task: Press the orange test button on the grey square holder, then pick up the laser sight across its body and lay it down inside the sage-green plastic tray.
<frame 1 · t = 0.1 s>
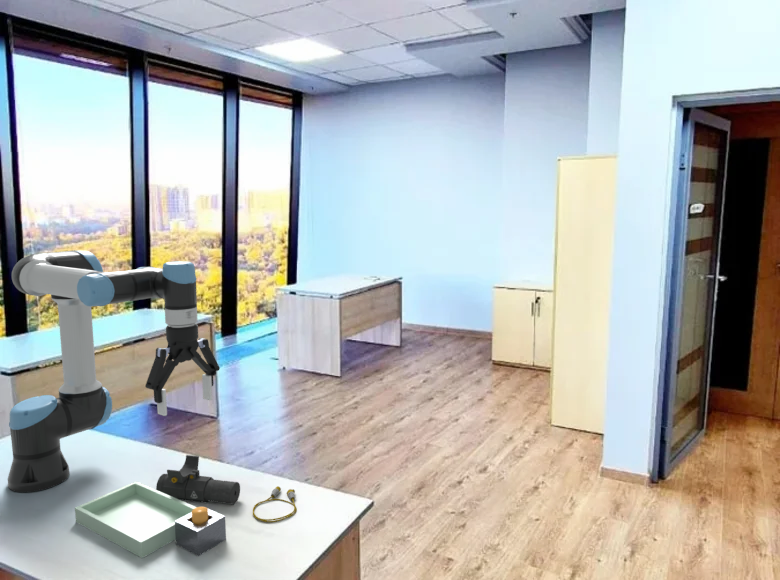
hand: (185, 406, 150), 28 cm above the table, tool pointing down, fingers open, 13 cm apart
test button: (200, 520, 139), point 6 cm above the table, slide at 0.0 cm
grey square holder: (201, 542, 139), on the table
laser sight: (197, 500, 160), on the table
tray: (139, 523, 147), on the table
extension cord: (277, 509, 156), on the table
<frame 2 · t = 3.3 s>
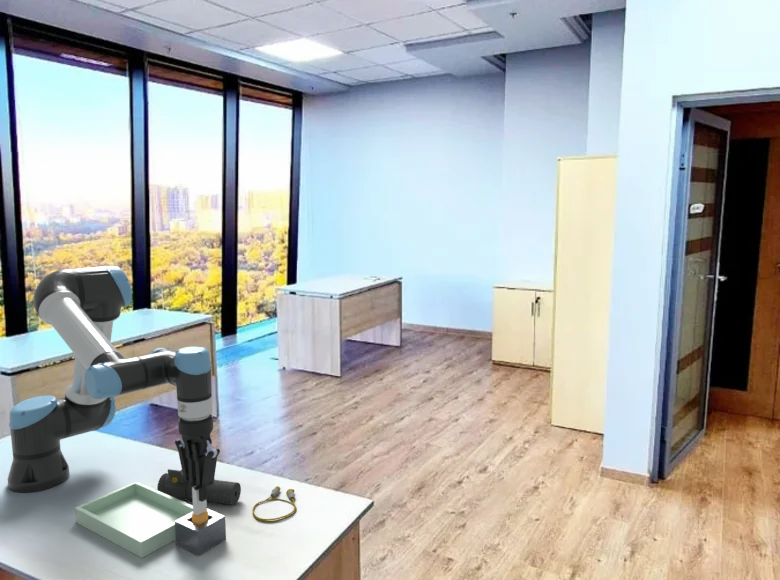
hand: (200, 512, 138), 8 cm above the table, tool pointing down, fingers closed
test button: (200, 522, 139), point 5 cm above the table, slide at 0.6 cm, touching gripper
everything else where it was.
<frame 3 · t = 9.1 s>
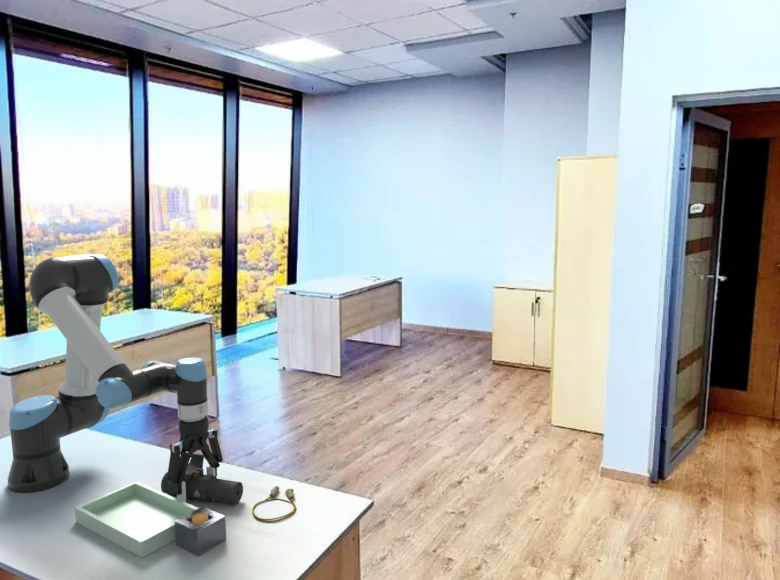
hand: (197, 496, 159), 1 cm above the table, tool pointing down, fingers closed on laser sight, 9 cm apart
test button: (200, 526, 139), point 4 cm above the table, slide at 1.5 cm
laser sight: (200, 498, 160), on the table, touching gripper
everything else where it was.
when the fingers open (3 cm above the table, at t = 15.2 s): laser sight drops 2 cm, resting on tray.
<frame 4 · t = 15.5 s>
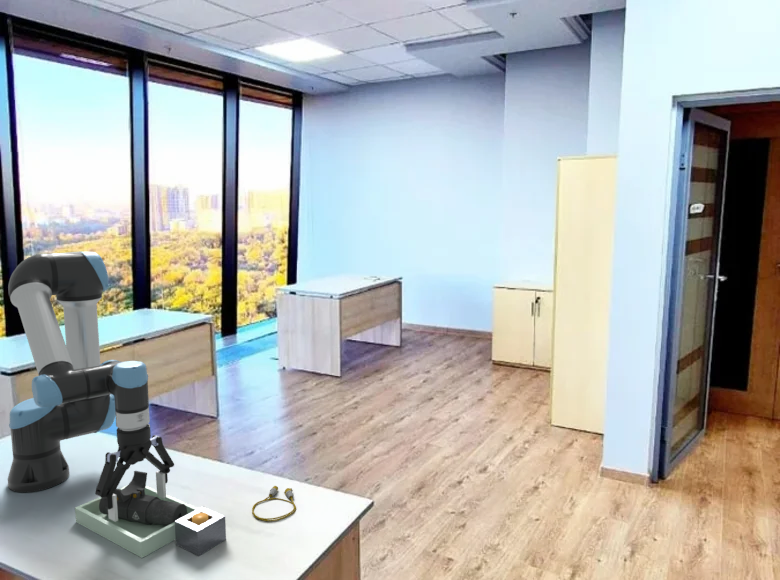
hand: (138, 507, 147), 4 cm above the table, tool pointing down, fingers open, 13 cm apart
laser sight: (142, 520, 147), point 1 cm above the table, touching tray
everything else where it was.
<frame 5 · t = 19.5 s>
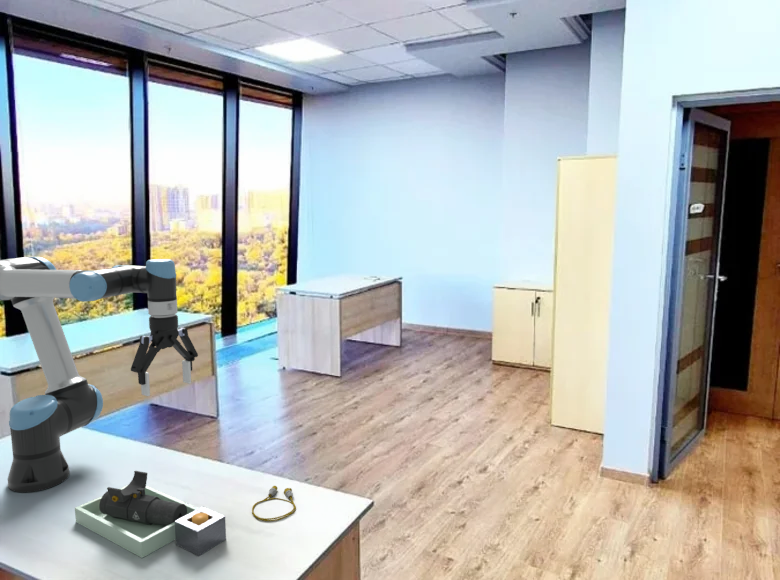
hand: (167, 388, 168), 27 cm above the table, tool pointing down, fingers open, 13 cm apart
nothing on the table moved.
at the end: laser sight inside the target area on the tray (0.7 cm from its centre), point 0.6 cm above the tray's base; the gripper is holding nothing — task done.
